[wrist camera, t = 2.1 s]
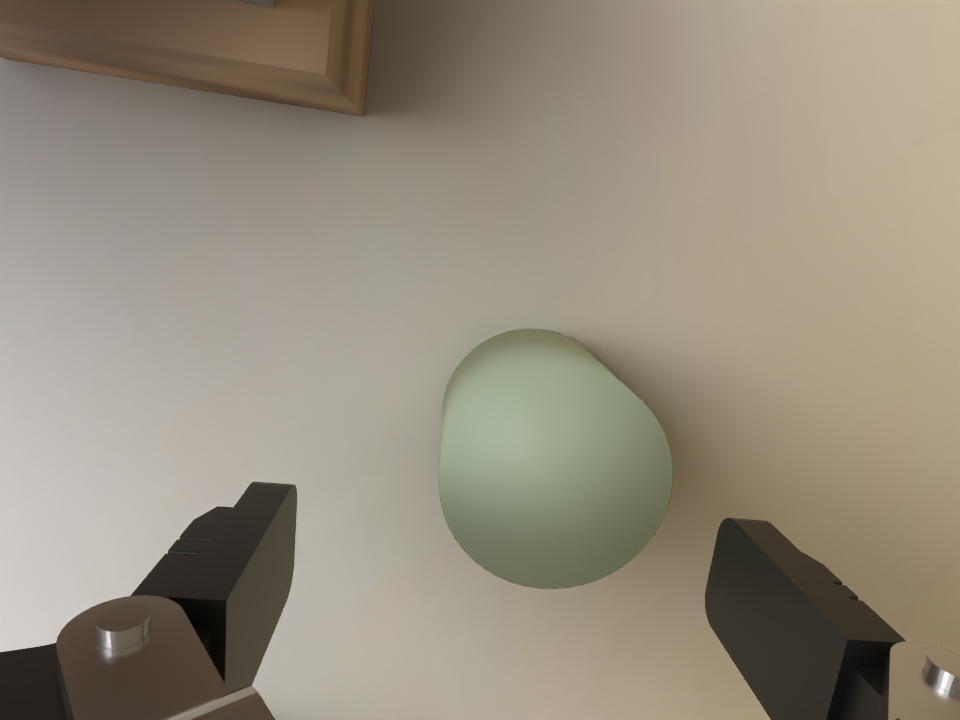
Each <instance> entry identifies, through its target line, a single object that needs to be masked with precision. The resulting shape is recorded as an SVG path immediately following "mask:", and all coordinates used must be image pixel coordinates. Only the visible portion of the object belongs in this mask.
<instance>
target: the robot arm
mask: <svg viewBox="0 0 960 720" xmlns="http://www.w3.org/2000/svg"><path fill="white" fill-rule="evenodd" d="M296 509H297V490H296V486H295V485H291V484H277V483H264V482H252V483H251V484H250V486H249V487H248V488H247V490H246V491H245V492H244V494H243V495H242V497H241V498H240V499H239V501H238V502H237V503H236V505H235V506H234V508H232V507H216V508H214V509H212V510H211V511H209V512H207V513H205V514H203V515H202V516H200V517H198V518H196V519H194V520H193V521H192V523H191V524H190V525H189V526H188V527H187V529H186V530H185V531H184V532H183V533H182V535H181V536H180V539H179V540H177V541H176V542H175V543H174V544H173V545H172V547H171V548H170V549H169V550H168V554H165V555H164V556H163V557H162V559H161V560H160V561H159V562H158V563H157V565H156V566H155V567H154V568H153V569H152V571H151V572H150V573H149V574H148V575H147V577H146V578H145V579H144V580H143V581H142V583H141V584H140V585H139V586H138V587H137V589H136V590H135V591H134V592H133V593H132V595H131V596H129V597H122V598H118V599H114V600H110V601H107V602H104V603H101V604H99V605H96V606H94V607H91V608H90V609H88V610H86V611H84V612H82V613H81V614H79V615H78V616H76V617H74V618H73V619H72V620H71V621H70V622H69V623H67V624H66V626H65V627H64V628H63V629H62V630H61V632H60V634H59V636H58V638H57V642H56V643H54V644H50V645H45V646H40V647H34V648H27V649H20V650H13V651H7V652H0V720H275V719H274V717H273V716H272V714H271V712H270V711H269V709H268V708H267V706H266V704H265V703H264V701H263V699H262V698H261V696H260V695H259V693H258V692H257V691H256V690H255V689H254V688H253V687H251V686H252V683H253V681H254V678H255V676H256V674H257V671H258V669H259V666H260V664H261V662H262V659H263V657H264V654H265V652H266V650H267V647H268V645H269V642H270V640H271V637H272V635H273V633H274V630H275V628H276V625H277V623H278V621H279V618H280V616H281V613H282V611H283V608H284V606H285V604H286V601H287V599H288V595H289V592H290V587H291V583H292V577H293V569H294V554H295V532H296ZM705 608H706V614H707V618H708V621H709V624H710V626H711V628H712V629H713V631H714V632H715V634H716V635H717V637H718V638H719V640H720V642H721V643H722V645H723V646H724V648H725V649H726V651H727V652H728V654H729V655H730V657H731V659H732V660H733V662H734V663H735V665H736V666H737V668H738V669H739V671H740V672H741V674H742V675H743V677H744V679H745V680H746V682H747V683H748V685H749V686H750V688H751V689H752V691H753V692H754V694H755V696H756V697H757V699H758V700H759V702H760V703H761V705H762V706H763V708H764V709H765V711H766V712H767V714H768V716H769V717H770V719H771V720H960V655H958V654H956V653H954V652H951V651H949V650H947V649H944V648H941V647H938V646H934V645H931V644H927V643H921V642H913V641H906V640H904V639H903V638H902V637H901V636H900V635H899V634H898V633H897V632H896V631H895V630H894V629H892V628H891V627H890V626H889V625H888V624H887V623H886V622H885V621H884V620H883V619H882V618H880V617H879V616H878V615H877V614H876V613H875V612H874V611H873V610H872V609H871V608H870V607H869V606H867V605H866V604H865V603H864V602H863V601H860V600H858V596H857V595H855V594H854V593H853V592H852V591H851V590H850V589H849V588H848V587H847V586H844V585H842V582H841V581H840V580H839V579H838V578H837V577H836V576H835V575H834V574H833V573H832V572H830V571H829V570H828V569H827V568H826V567H825V566H824V565H823V564H821V563H819V562H818V561H816V560H814V559H813V558H811V557H809V556H808V555H806V554H804V553H802V552H801V551H800V550H799V549H797V548H796V547H795V546H794V545H793V544H792V543H791V542H790V541H789V540H788V539H787V538H786V537H785V536H784V535H783V534H782V533H780V532H779V531H778V530H777V529H776V528H775V527H774V526H773V525H772V524H771V523H769V522H768V521H761V520H748V519H735V518H726V519H725V520H723V522H722V523H721V525H720V527H719V530H718V534H717V539H716V544H715V549H714V553H713V558H712V563H711V568H710V573H709V577H708V582H707V587H706V593H705Z"/></svg>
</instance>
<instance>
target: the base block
mask: <svg viewBox="0 0 960 720" xmlns="http://www.w3.org/2000/svg"><path fill="white" fill-rule="evenodd" d="M375 1H376V0H274V8H271V7H265V6H260V5H255V4H250V3H244V2H239V1H234V0H0V57H2V58H5V59H11V60H17V61H24V62H30V63H36V64H42V65H48V66H54V67H61V68H67V69H73V70H79V71H85V72H92V73H98V74H104V75H110V76H116V77H122V78H129V79H135V80H141V81H147V82H153V83H160V84H166V85H172V86H178V87H184V88H190V89H197V90H203V91H209V92H215V93H221V94H228V95H234V96H240V97H246V98H252V99H259V100H265V101H271V102H277V103H283V104H289V105H296V106H302V107H308V108H314V109H320V110H327V111H333V112H339V113H345V114H351V115H357V116H364V108H365V99H366V89H367V79H368V69H369V59H370V50H371V40H372V30H373V20H374V11H375Z"/></svg>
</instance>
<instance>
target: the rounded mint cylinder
mask: <svg viewBox="0 0 960 720" xmlns="http://www.w3.org/2000/svg"><path fill="white" fill-rule="evenodd" d="M672 483H673V465H672V457H671V451H670V448H669V444H668V441H667V438H666V436H665V434H664V431H663V429H662V427H661V425H660V423H659V422H658V420H657V419H656V417H655V415H654V414H653V413H652V411H651V410H650V409H649V408H648V407H647V405H646V404H645V403H644V402H643V401H642V400H641V399H640V398H639V397H637V396H636V395H635V394H634V393H633V392H632V391H631V390H630V389H629V388H628V387H627V386H626V385H624V384H623V383H622V382H621V381H620V380H619V379H618V378H617V377H616V376H615V375H614V374H613V373H611V372H610V371H609V370H608V369H607V368H606V367H605V366H604V365H603V364H602V363H601V362H599V361H598V360H597V359H596V358H595V357H594V356H593V355H592V354H591V353H590V352H589V351H587V350H586V349H585V348H584V347H583V346H581V345H580V344H578V343H577V342H575V341H574V340H572V339H570V338H568V337H566V336H564V335H561V334H558V333H555V332H552V331H547V330H541V329H520V330H514V331H509V332H506V333H503V334H500V335H497V336H495V337H493V338H491V339H488V340H486V341H485V342H483V343H482V344H480V345H479V346H477V347H476V348H475V349H474V350H472V351H471V352H470V353H469V354H468V355H467V356H466V357H465V358H464V359H463V360H462V362H461V363H460V364H459V366H458V367H457V369H456V370H455V371H454V373H453V375H452V377H451V379H450V381H449V384H448V386H447V389H446V392H445V397H444V402H443V416H442V437H441V458H440V479H439V489H440V500H441V504H442V509H443V513H444V516H445V519H446V521H447V524H448V526H449V528H450V530H451V532H452V534H453V536H454V537H455V539H456V541H457V542H458V543H459V545H460V546H461V547H462V549H463V550H464V551H465V552H466V553H467V554H468V555H469V556H470V557H471V558H472V559H473V560H474V561H475V562H476V563H478V564H479V565H480V566H482V567H483V568H484V569H485V570H487V571H489V572H491V573H492V574H494V575H496V576H497V577H500V578H502V579H505V580H507V581H509V582H512V583H515V584H519V585H522V586H527V587H533V588H542V589H559V588H569V587H574V586H579V585H584V584H587V583H590V582H593V581H596V580H598V579H600V578H603V577H605V576H607V575H609V574H611V573H613V572H614V571H616V570H618V569H619V568H621V567H622V566H624V565H625V564H626V563H628V562H629V561H630V560H631V559H633V558H634V557H635V556H636V555H637V554H638V553H639V552H640V551H641V550H642V549H643V548H644V547H645V546H646V545H647V543H648V542H649V541H650V539H651V538H652V537H653V535H654V534H655V532H656V531H657V529H658V527H659V525H660V524H661V522H662V520H663V517H664V515H665V513H666V510H667V507H668V504H669V500H670V497H671V490H672Z"/></svg>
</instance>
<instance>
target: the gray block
mask: <svg viewBox="0 0 960 720" xmlns="http://www.w3.org/2000/svg"><path fill="white" fill-rule="evenodd" d="M234 1H239V2H244V3H250V4H255V5H260V6H265V7H271V8H274V0H234Z"/></svg>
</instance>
